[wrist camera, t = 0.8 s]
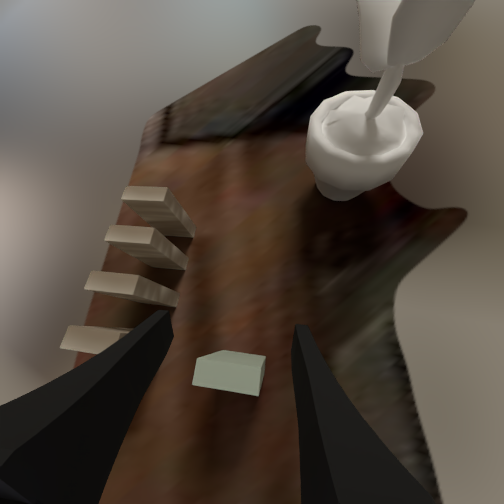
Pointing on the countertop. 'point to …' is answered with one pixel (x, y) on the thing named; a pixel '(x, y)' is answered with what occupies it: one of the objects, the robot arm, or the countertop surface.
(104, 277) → the domino
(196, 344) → the countertop surface
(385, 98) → the potted plant
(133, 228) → the domino
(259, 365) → the domino
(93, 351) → the domino
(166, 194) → the domino
